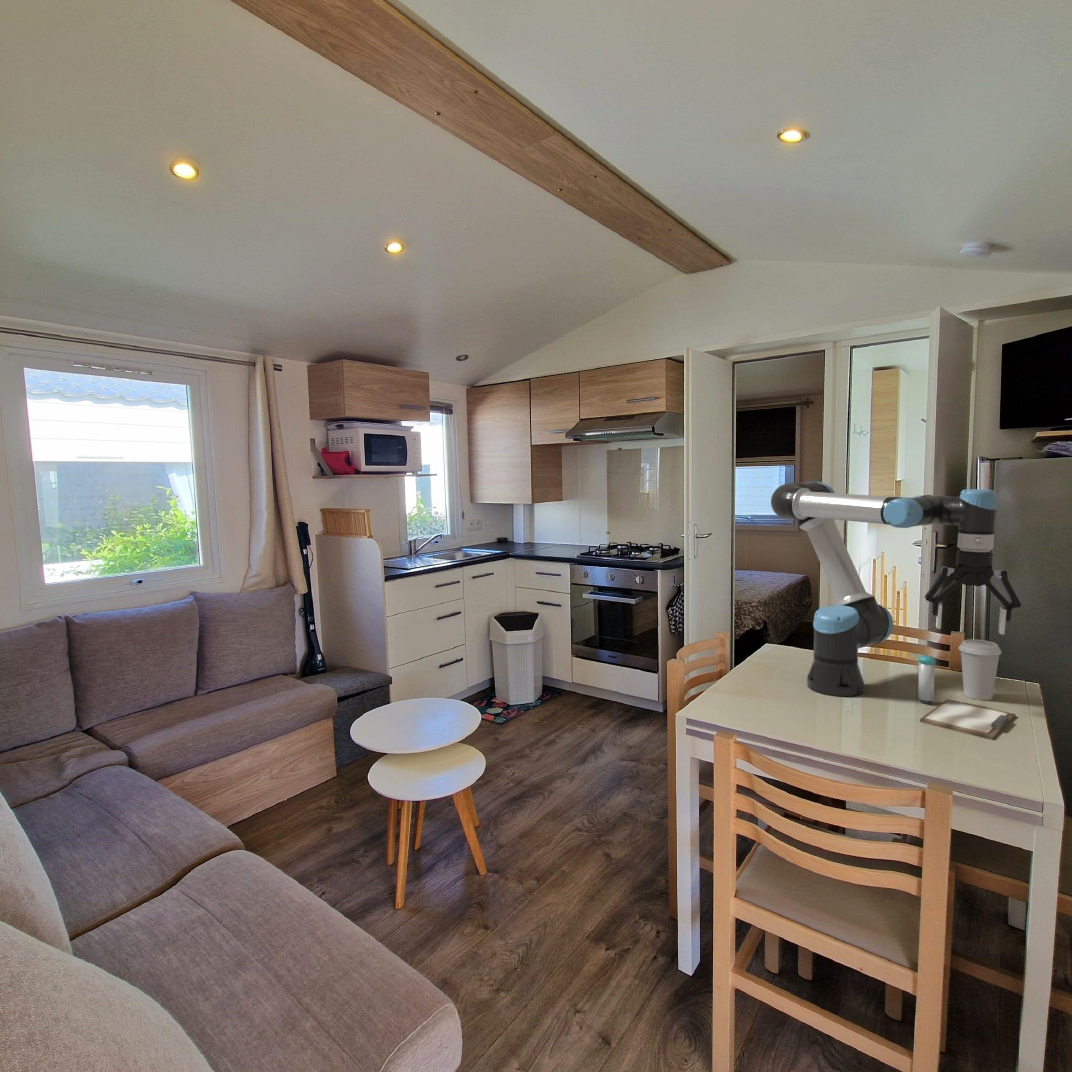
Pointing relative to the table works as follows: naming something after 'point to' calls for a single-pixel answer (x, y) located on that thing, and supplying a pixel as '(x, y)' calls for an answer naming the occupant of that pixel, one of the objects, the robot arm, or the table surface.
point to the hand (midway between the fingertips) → (969, 630)
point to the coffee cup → (979, 668)
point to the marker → (926, 679)
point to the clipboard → (968, 718)
